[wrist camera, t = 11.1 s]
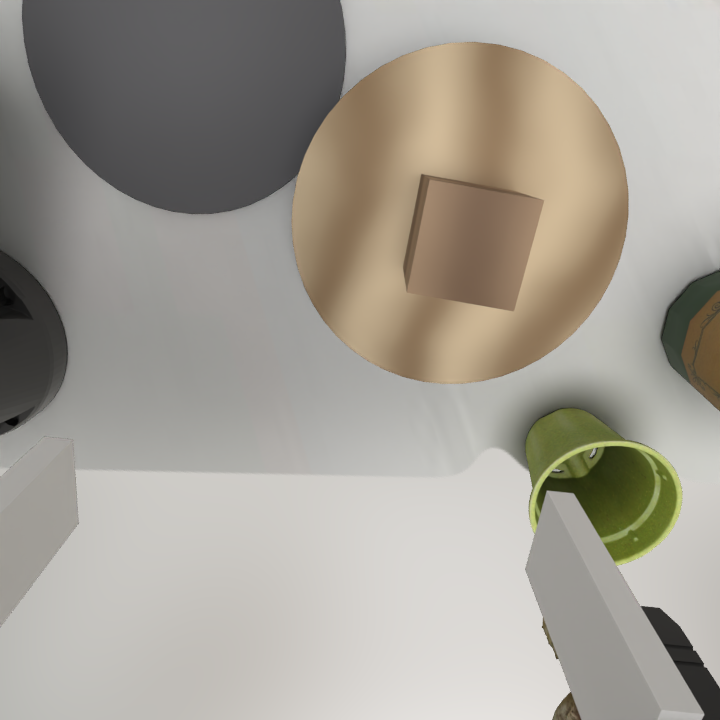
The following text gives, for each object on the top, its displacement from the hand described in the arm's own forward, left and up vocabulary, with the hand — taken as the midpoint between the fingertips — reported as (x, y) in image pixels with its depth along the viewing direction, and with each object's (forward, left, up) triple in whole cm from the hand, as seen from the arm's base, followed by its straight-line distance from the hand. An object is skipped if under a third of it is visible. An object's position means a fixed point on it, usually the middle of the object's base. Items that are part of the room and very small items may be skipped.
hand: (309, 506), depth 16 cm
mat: (-13, +13, -26) cm, 32 cm away
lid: (+5, +6, -19) cm, 21 cm away
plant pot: (+18, -9, -27) cm, 33 cm away
